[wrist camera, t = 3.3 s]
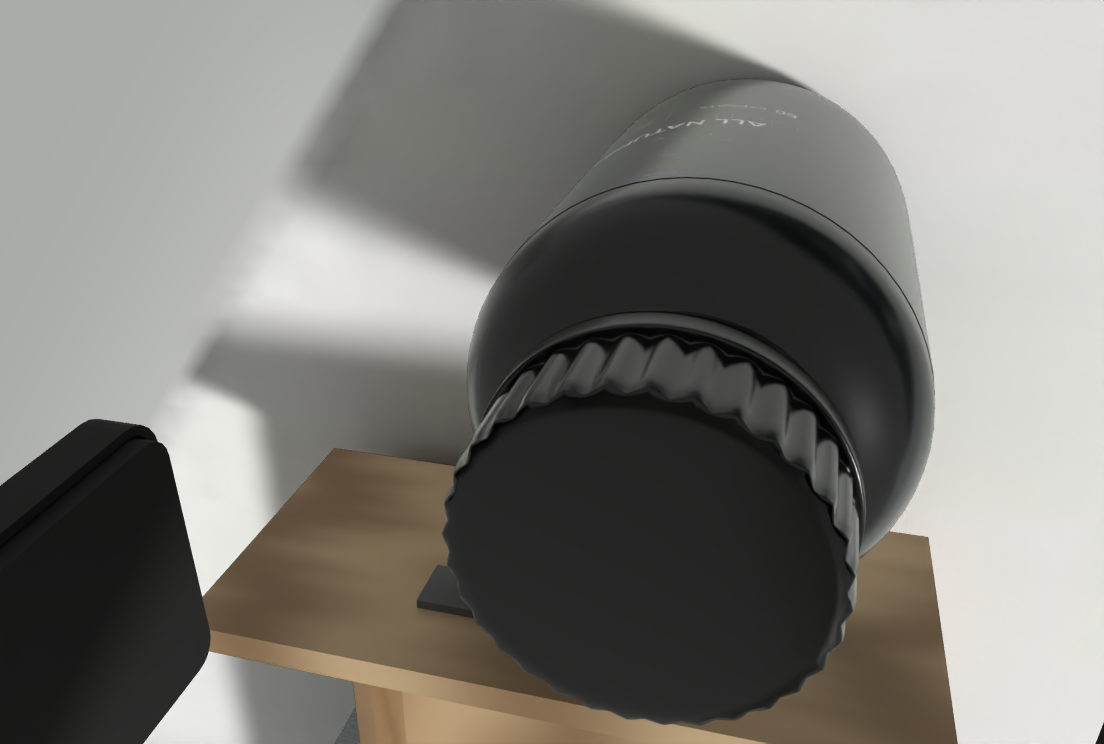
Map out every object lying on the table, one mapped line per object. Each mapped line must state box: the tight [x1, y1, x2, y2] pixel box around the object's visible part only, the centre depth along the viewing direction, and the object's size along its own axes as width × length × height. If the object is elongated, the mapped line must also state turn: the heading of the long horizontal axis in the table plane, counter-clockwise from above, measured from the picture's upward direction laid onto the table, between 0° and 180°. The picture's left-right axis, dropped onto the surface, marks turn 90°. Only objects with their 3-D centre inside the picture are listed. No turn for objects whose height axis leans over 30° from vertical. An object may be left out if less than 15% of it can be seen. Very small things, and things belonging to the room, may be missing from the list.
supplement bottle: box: [442, 79, 935, 725], centre depth 16 cm, size 7×7×12 cm
